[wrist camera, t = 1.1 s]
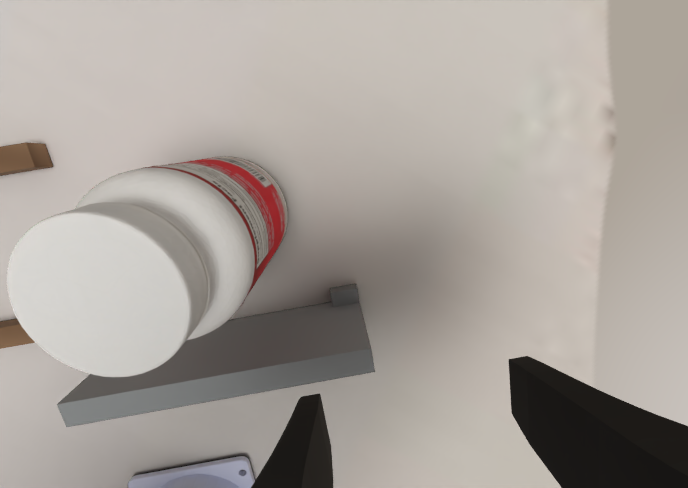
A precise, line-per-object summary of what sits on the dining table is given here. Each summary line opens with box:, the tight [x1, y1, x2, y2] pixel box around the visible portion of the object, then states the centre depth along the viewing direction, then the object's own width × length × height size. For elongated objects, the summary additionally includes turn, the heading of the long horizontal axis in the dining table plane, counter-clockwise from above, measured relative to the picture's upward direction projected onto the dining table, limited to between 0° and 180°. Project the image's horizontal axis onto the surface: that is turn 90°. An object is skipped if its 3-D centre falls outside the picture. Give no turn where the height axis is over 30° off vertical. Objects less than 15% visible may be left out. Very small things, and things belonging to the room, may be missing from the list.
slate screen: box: [57, 284, 375, 427], centre depth 18 cm, size 3×14×6 cm, turn 99°
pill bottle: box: [6, 157, 288, 377], centre depth 14 cm, size 6×6×11 cm
